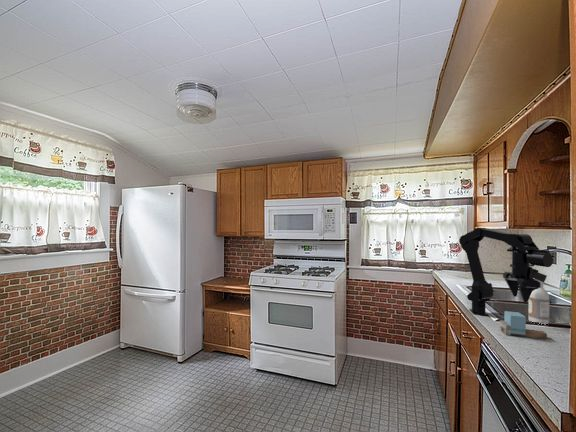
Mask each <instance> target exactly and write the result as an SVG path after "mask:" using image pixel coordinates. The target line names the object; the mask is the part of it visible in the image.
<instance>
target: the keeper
mask: <svg viewBox="0 0 576 432" xmlns="http://www.w3.org/2000/svg"><path fill="white" fill-rule="evenodd" d="M503 318H504V319H503V321H505V322H506V323H508V324H509V325H510V326H511V329H510V333H514V334H522V335H526V329H527V328H526V324H527V322H526V321H527V317H526V316H525V315H524V314H522V313H521V312H518V311H517V312H516V311H507V310H505V311H504V317H503Z"/></svg>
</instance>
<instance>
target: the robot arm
mask: <svg viewBox="0 0 576 432" xmlns="http://www.w3.org/2000/svg"><path fill="white" fill-rule="evenodd" d="M484 238H489V239H491V240H497V241H500V242H503V243H505V244H507V245H508V246H510V247H509V248H507V249H506V251H507V252H509V253H510V252H511V263H510V264H509V267H511V271H505V272H503V273H502V278H503V279H504V281H505V282H506V284H507V286H508V288H509V290H510V292H511V294H512V296H513V297H518V294H519V293H518V291H519V292H520V296H521V299H522V301H523V303H529V297H530V295H531V293H532V291H534V290H535V289H538V288H541V283H540V282H539V281H541V282H543V283H545V281H546V280H547V277H548V275H547V274H544V273H541V272H539V270H538V269H536V268H533V267H532V266H537V267H538V266H539V267H542V268H543V267H544V268H550V267H552V266H553V264H554V258H553V255H552V253H550V250H549V249H539V247H538V246H537V245H536V244H537V243H535V242H534V241H533V238H532V236H531V235H530V234H526V233H507V232H504V231H498V230H493V229H489V228H486V227H477V228H474V229H473V230H471V231H469V232H467V233H465V234H464V235H463V234H462V235H461V236H460V237H459V239H458V242H459V245H460V247H461V248H462V250H463V251H464V252H465V254H466V257H467V260H468V265H469V270H470V273H471V277H472V280H473V281H472V284H471V291H470V292H469V293H468V294H467V295H466V298H467V300H469V301H471V308H469V309H468V310H469V312H471V314H473V315H480V316H489V313H487V312H486V308H487V307H486V305H487V302H490V301H491V300H492V298H493V296H494V292H495V291H494V288H493V284H492V282H489V283H488V281H487V280H486V278H485V274H484V269H483V266H482V263H481V259H480V256H479V252H478V251H479V248H480V242H482V240H483V239H484ZM530 265H531V266H530ZM535 279H536V280H535ZM537 280H539V281H537Z"/></svg>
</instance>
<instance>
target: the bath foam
mask: <svg viewBox="0 0 576 432" xmlns="http://www.w3.org/2000/svg"><path fill="white" fill-rule="evenodd" d="M534 279H535V278H534ZM535 280H536V279H535ZM537 281H539V280H537ZM539 282H540V283H541V288H538V289H535V290H534V291H532V293H531V295H530V297H529V300H528V317H527V318H528V321H529V322H530V321H532V322H539V324H540V323H541V322H545V323H541V325H540V326H547V325H546V324H548V323H549V324H550V296H549V293H548V292H547V290H546V289H545V287H544V282H541V281H539ZM532 322H531V323H532ZM539 324H538V325H539ZM542 324H544V325H542ZM549 324H548V325H549Z"/></svg>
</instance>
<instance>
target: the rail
mask: <svg viewBox="0 0 576 432" xmlns="http://www.w3.org/2000/svg"><path fill="white" fill-rule="evenodd" d="M510 329H511V326H510V325H509V324H508V323H506V322H505V321H504V319H499V330H500V331H501V332H502V333H503V334H504V335H506V336H511V335H513V336H520V337H527V338H536V339H545V340H547V339H548V334H547V332H545V331H543V330H535V329H528V328H526V335H522V334H514V333H510Z"/></svg>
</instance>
